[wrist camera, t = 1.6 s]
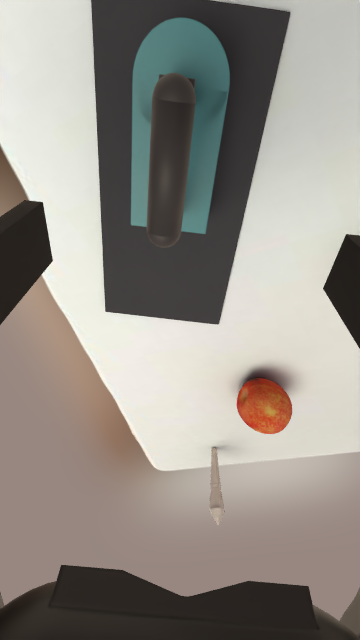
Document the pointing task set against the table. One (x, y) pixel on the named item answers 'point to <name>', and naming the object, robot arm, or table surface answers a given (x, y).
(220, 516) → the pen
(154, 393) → the table surface
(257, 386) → the apple
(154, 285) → the ironing mat
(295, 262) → the table surface
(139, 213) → the iron
